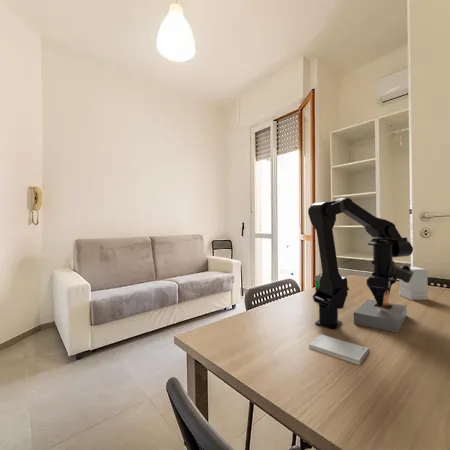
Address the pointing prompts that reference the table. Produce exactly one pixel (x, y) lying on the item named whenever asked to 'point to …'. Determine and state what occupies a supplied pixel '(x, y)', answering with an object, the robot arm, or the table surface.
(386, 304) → the pin
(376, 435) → the table surface
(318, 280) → the food container
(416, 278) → the supplement box
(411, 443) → the table surface
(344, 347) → the hard drive
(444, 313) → the table surface
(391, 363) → the table surface
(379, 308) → the grey block with hole
